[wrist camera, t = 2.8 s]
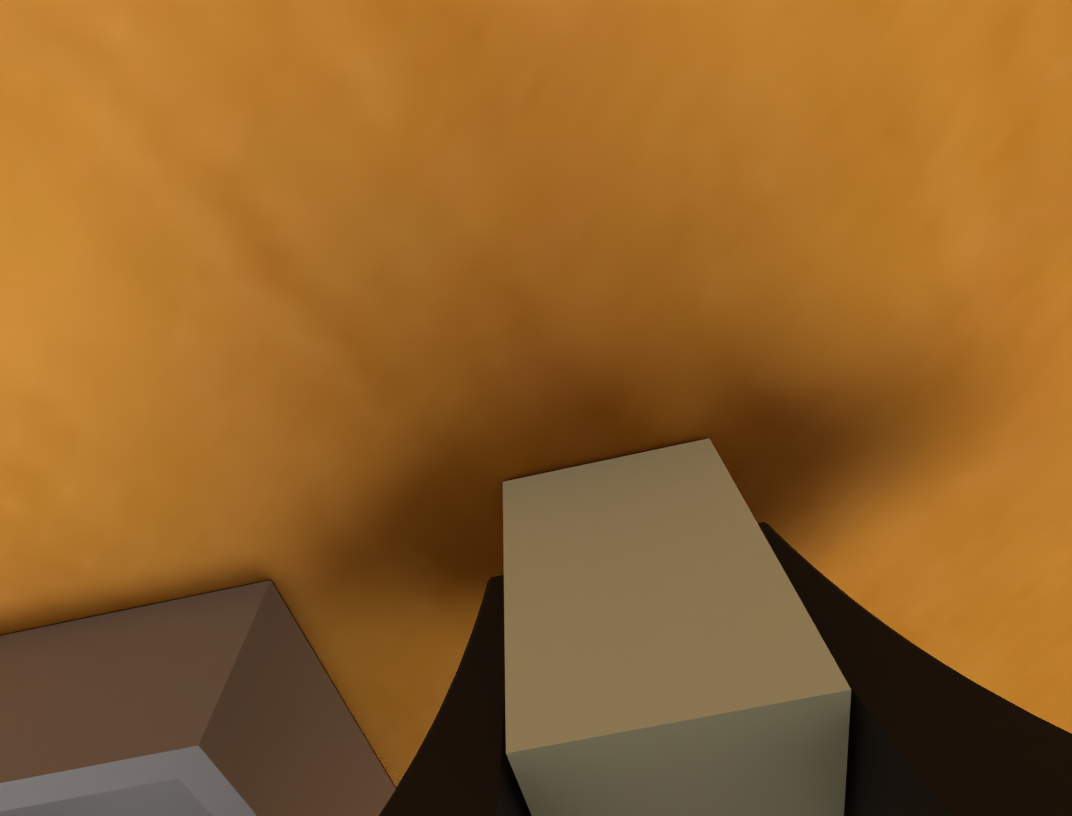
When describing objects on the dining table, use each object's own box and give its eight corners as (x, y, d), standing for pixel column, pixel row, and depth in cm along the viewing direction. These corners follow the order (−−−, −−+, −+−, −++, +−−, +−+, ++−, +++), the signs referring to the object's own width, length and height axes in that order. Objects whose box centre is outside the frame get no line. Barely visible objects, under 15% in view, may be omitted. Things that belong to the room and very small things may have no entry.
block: (723, 587, 15) (841, 862, 10) (545, 622, 15) (570, 908, 10) (709, 438, 13) (851, 689, 8) (502, 481, 13) (506, 753, 8)
